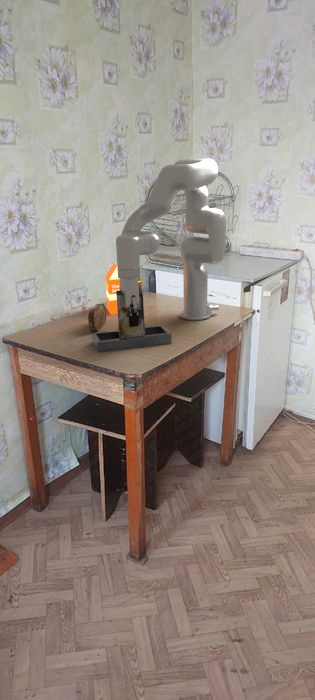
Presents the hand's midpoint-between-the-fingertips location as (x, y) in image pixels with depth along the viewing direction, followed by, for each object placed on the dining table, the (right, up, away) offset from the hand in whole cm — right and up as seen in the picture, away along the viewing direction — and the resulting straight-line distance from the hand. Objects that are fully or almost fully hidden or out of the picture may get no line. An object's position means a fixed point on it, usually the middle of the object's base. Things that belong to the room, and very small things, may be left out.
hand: (131, 322), depth 180 cm
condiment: (-1, +13, +56) cm, 57 cm away
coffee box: (0, -5, +2) cm, 5 cm away
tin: (-14, -1, +20) cm, 25 cm away
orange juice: (-8, +7, +40) cm, 42 cm away
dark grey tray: (0, -7, +2) cm, 7 cm away
